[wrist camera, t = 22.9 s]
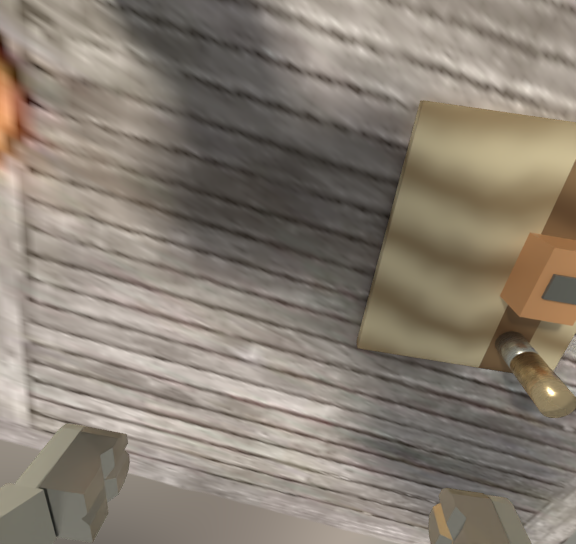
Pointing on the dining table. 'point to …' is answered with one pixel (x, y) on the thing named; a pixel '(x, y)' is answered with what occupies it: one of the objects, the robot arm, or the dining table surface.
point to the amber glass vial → (535, 376)
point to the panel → (469, 235)
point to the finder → (544, 280)
